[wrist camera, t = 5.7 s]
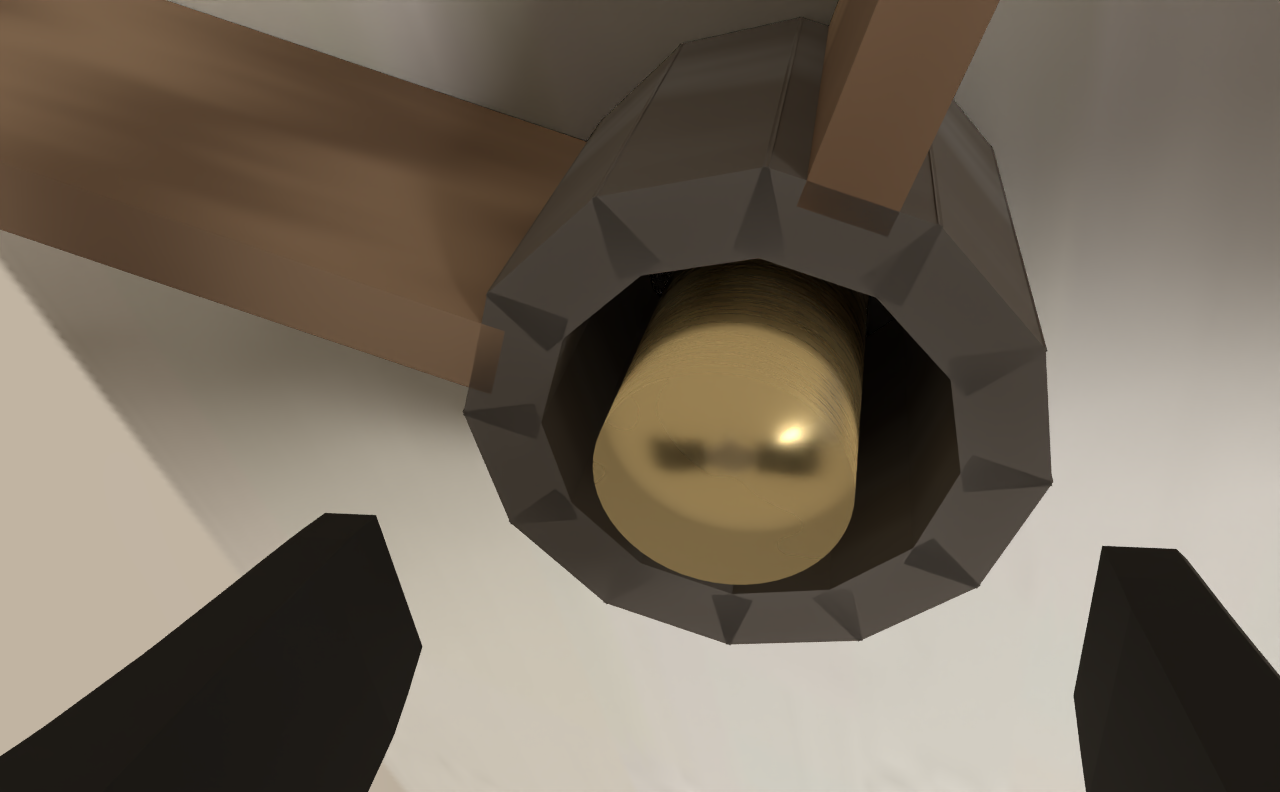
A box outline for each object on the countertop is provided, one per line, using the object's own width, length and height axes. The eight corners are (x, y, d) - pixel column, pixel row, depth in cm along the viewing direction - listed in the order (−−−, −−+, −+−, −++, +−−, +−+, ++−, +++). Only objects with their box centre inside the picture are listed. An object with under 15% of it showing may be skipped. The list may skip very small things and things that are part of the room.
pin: (901, 188, 16) (899, 432, 10) (832, 337, 18) (798, 617, 12) (728, 127, 16) (629, 336, 10) (676, 281, 18) (567, 532, 12)
